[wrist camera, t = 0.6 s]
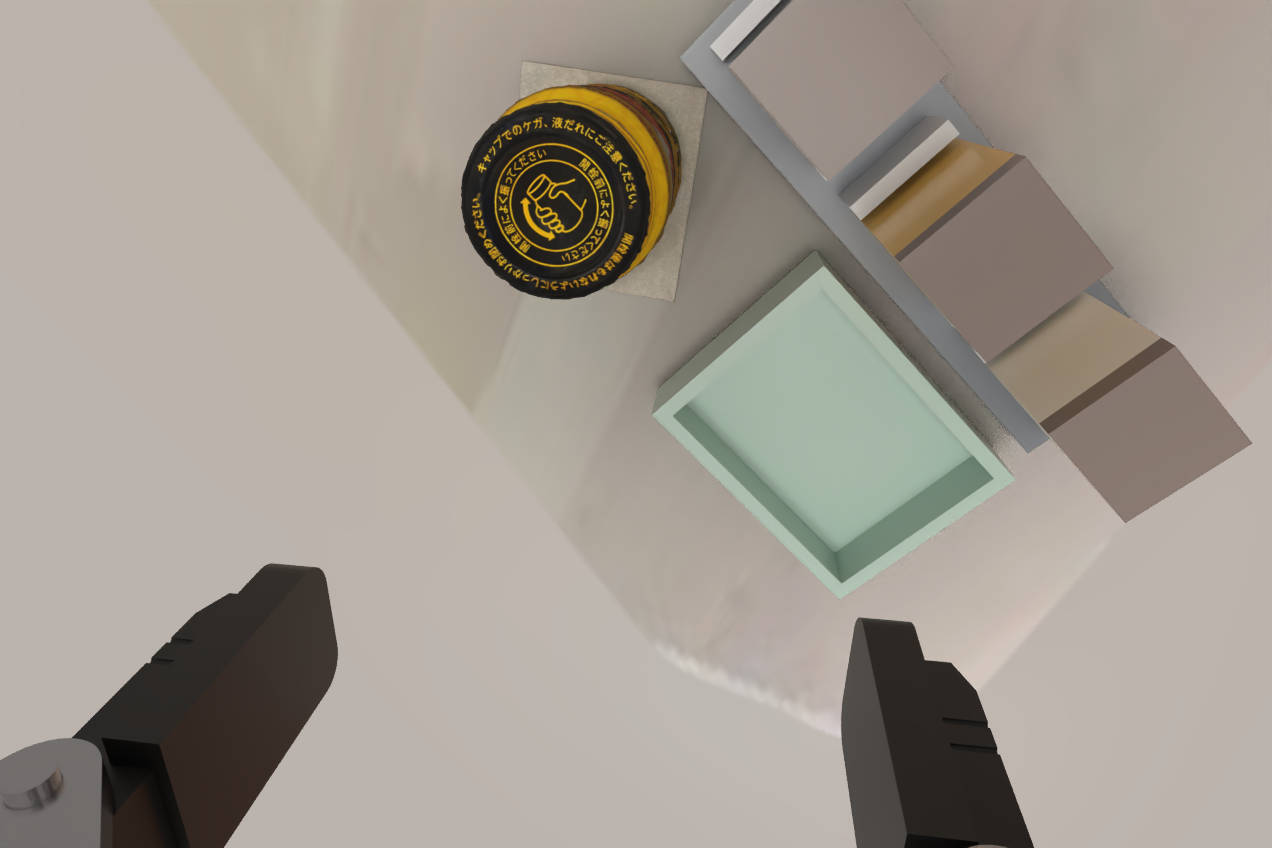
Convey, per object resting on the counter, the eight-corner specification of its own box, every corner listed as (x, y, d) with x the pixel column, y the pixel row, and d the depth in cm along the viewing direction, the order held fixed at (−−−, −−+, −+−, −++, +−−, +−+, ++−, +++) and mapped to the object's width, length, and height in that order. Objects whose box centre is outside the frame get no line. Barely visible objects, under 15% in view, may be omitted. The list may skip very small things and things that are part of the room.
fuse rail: (804, -72, 29) (845, -150, 19) (1138, 344, 33) (1314, 457, 23) (682, 59, 31) (660, 50, 21) (1012, 433, 35) (1123, 572, 25)
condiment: (708, 88, 31) (698, 93, 20) (674, 300, 35) (650, 404, 24) (523, 60, 31) (414, 51, 20) (507, 273, 35) (407, 363, 24)
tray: (815, 249, 33) (823, 265, 30) (992, 447, 36) (1015, 479, 33) (657, 388, 36) (651, 414, 33) (831, 561, 39) (839, 599, 36)
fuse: (942, 135, 29) (1025, 156, 21) (1009, 216, 30) (1113, 267, 22) (853, 213, 30) (899, 262, 22) (919, 289, 31) (987, 363, 23)
